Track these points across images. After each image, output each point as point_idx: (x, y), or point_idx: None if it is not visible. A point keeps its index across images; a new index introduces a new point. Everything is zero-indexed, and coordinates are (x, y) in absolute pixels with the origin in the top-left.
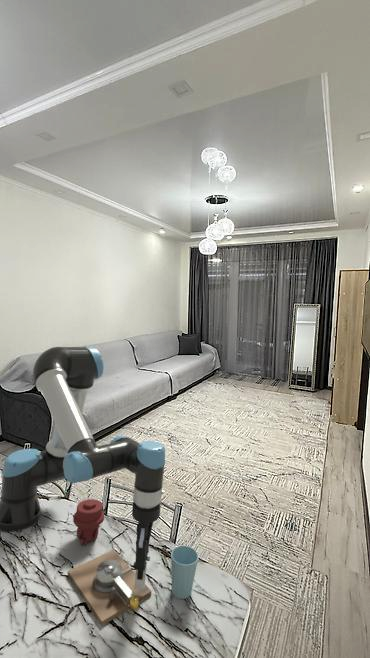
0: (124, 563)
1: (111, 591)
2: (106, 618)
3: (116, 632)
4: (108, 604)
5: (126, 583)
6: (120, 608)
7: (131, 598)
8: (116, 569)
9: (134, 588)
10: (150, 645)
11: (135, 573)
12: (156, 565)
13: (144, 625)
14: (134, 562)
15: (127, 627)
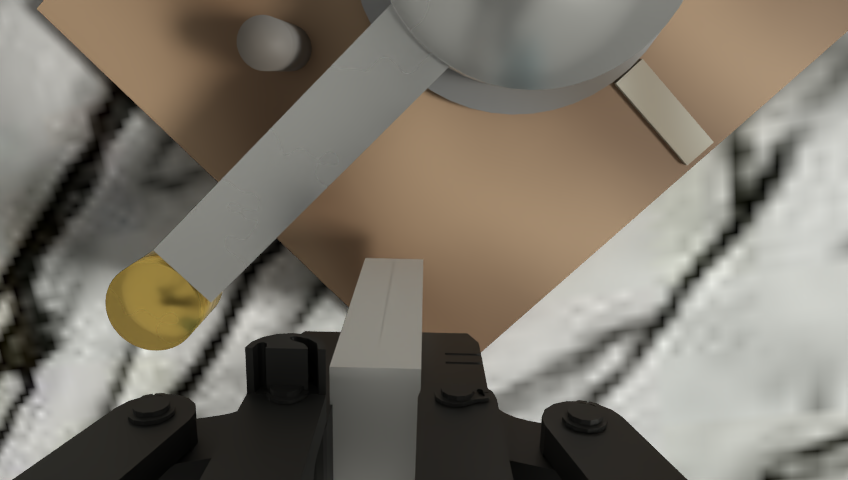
0: (777, 70)
1: (243, 27)
2: (76, 42)
3: (42, 153)
4: (223, 22)
5: (499, 147)
6: (205, 149)
7: (153, 276)
8: (536, 13)
9: (366, 261)
10: (8, 416)
11: (347, 315)
12: (786, 383)
13: (150, 357)
14: (321, 353)
15: (104, 231)
